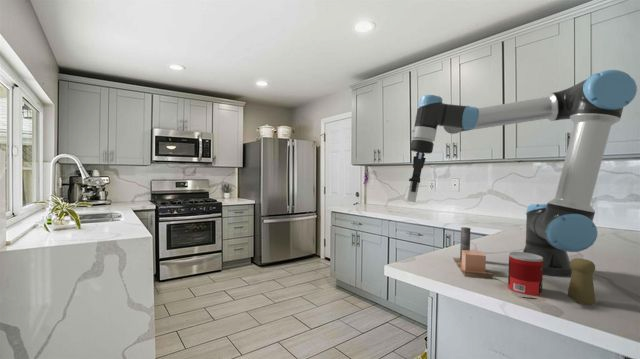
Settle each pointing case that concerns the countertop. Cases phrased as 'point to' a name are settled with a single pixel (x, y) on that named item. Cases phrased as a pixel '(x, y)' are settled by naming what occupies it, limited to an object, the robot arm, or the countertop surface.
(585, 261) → the cork
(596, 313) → the countertop surface
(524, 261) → the canned food
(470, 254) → the terracotta block
